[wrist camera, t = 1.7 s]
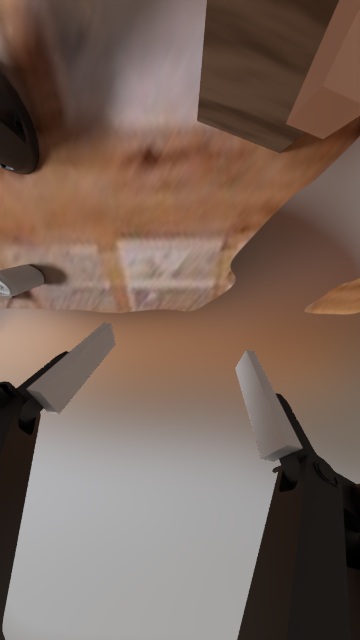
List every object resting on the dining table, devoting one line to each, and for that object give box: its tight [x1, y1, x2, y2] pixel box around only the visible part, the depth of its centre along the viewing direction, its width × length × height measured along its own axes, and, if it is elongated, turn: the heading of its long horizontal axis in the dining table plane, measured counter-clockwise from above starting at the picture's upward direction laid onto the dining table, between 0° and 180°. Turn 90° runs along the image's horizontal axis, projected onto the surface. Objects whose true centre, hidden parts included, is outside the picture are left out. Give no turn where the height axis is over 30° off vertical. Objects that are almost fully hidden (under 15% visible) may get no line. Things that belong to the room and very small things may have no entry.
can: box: [0, 265, 44, 296], centre depth 43 cm, size 8×8×12 cm
